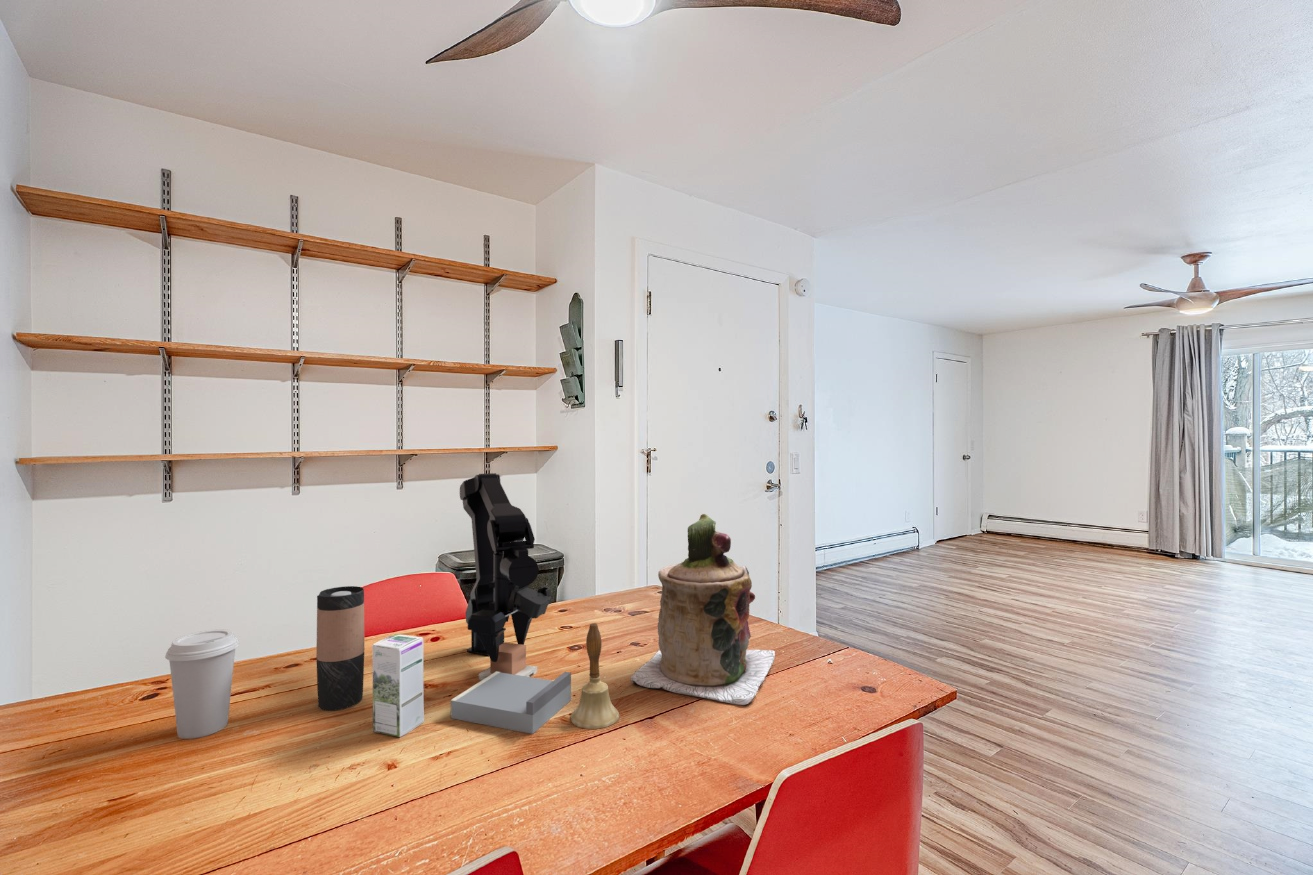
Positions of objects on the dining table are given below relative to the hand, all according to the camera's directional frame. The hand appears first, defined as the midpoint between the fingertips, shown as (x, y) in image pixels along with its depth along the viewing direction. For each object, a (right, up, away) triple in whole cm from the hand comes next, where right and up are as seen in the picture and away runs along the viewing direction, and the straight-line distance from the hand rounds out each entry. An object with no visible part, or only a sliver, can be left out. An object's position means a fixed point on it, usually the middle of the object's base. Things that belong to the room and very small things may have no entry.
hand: (508, 653), depth 117 cm
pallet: (0, -5, 0) cm, 5 cm away
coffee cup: (-45, -5, -21) cm, 50 cm away
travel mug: (-27, -5, -12) cm, 30 cm away
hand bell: (+19, -5, -18) cm, 27 cm away
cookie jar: (+40, -5, +2) cm, 40 cm away
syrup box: (-13, -5, -21) cm, 25 cm away
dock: (+5, -4, -14) cm, 16 cm away
